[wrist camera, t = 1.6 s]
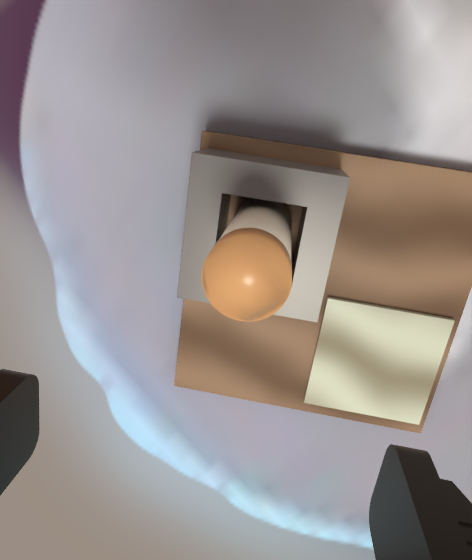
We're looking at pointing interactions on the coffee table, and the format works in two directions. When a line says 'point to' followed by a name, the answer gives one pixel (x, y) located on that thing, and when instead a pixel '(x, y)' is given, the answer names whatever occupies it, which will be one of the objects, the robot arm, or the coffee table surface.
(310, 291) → the grey square frame
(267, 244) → the plug
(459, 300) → the base board
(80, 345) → the coffee table surface
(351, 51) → the coffee table surface
